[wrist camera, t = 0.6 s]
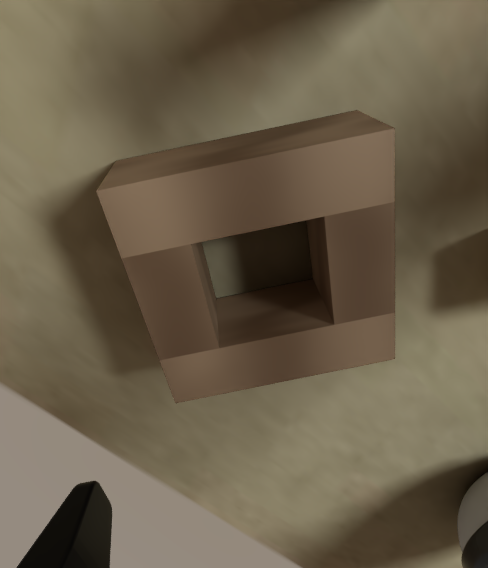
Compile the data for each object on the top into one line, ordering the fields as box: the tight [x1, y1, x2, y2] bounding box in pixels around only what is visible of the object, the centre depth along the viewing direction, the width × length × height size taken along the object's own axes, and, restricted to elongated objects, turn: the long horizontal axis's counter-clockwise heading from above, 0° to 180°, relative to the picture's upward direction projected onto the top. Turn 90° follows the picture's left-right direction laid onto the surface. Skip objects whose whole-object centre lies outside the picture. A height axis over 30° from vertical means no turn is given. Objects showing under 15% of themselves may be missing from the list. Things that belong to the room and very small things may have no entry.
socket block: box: [96, 110, 395, 403], centre depth 16 cm, size 9×9×4 cm
